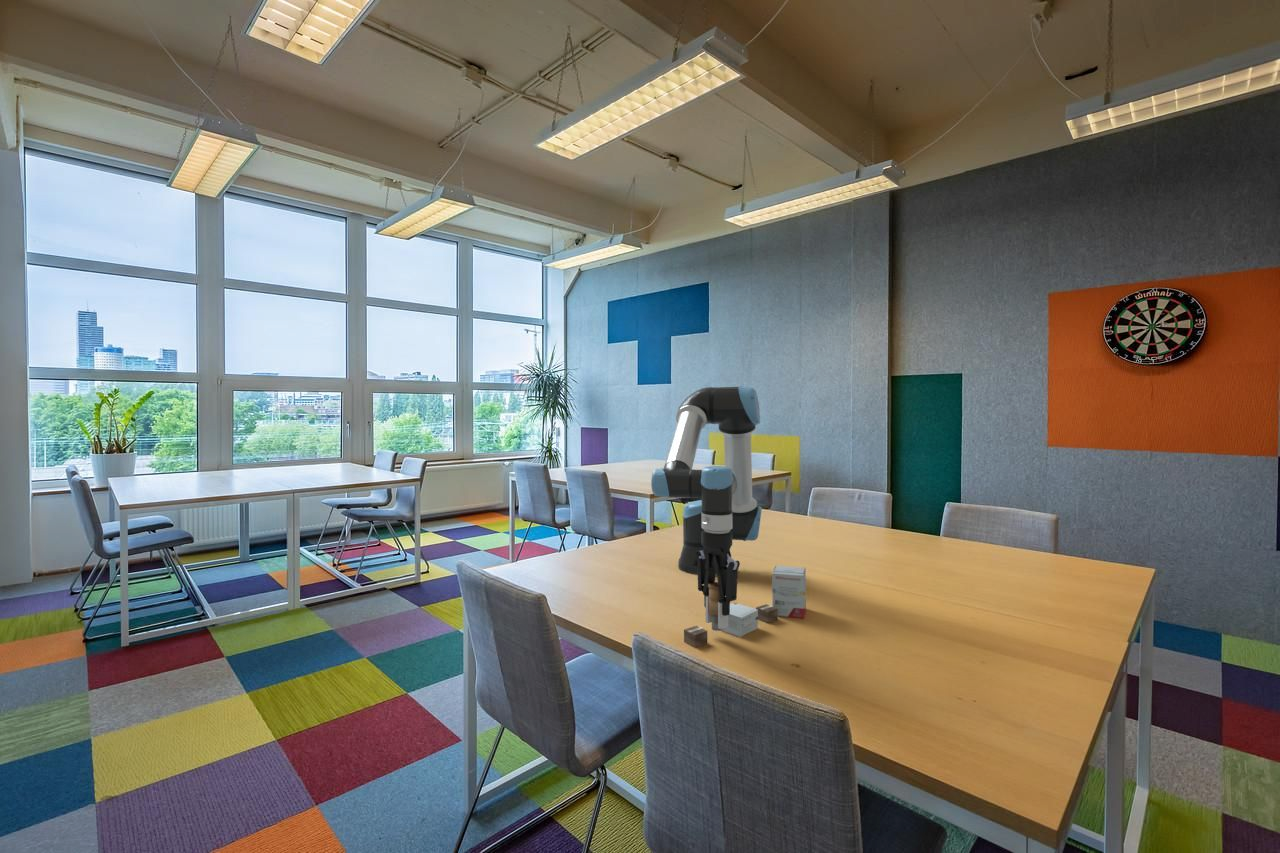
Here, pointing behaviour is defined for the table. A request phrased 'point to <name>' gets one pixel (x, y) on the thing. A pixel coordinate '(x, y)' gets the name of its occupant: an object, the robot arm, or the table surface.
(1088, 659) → the table surface
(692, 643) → the joist marker
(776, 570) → the ink box
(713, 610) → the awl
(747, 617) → the small box
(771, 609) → the joist marker
